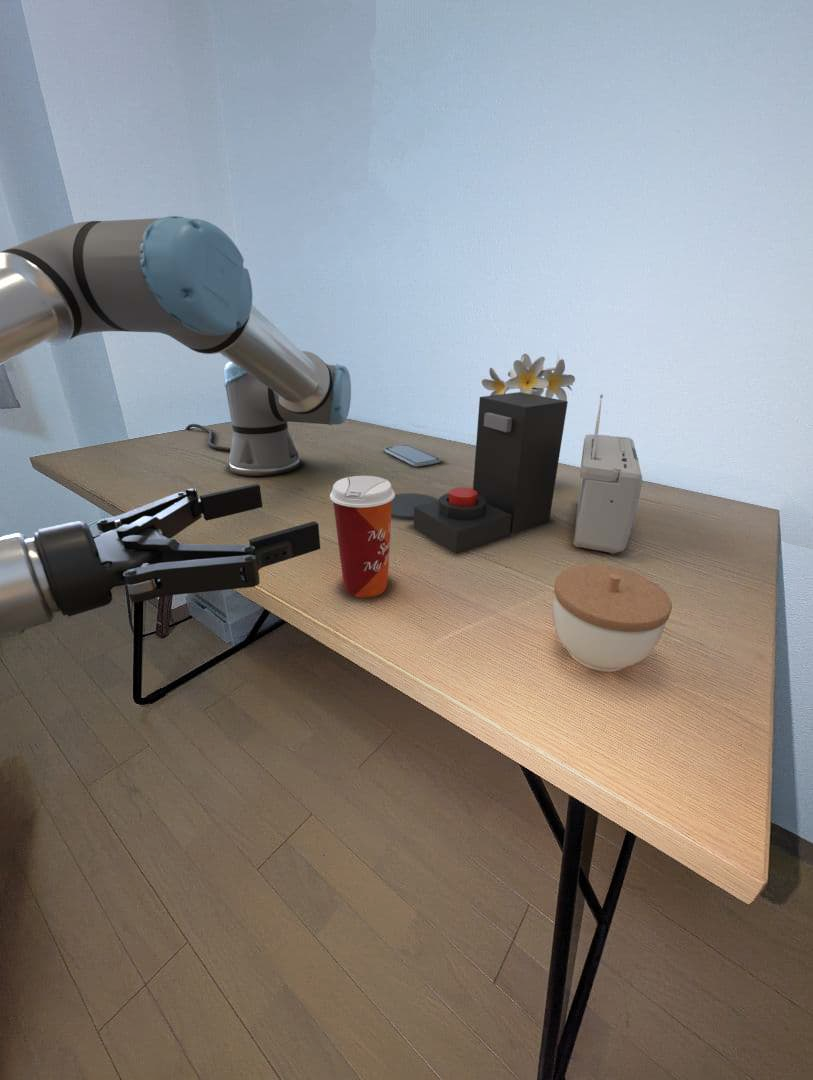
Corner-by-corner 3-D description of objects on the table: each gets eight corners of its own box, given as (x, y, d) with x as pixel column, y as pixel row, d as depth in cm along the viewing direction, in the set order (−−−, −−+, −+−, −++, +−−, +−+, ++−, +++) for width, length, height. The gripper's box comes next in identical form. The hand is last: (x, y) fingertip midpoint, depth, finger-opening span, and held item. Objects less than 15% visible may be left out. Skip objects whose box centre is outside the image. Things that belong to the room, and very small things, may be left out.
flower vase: (465, 484, 97) (474, 354, 85) (524, 468, 107) (538, 349, 96) (514, 503, 87) (531, 360, 76) (573, 483, 98) (596, 354, 86)
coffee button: (442, 501, 75) (443, 490, 74) (464, 495, 77) (464, 485, 76) (460, 510, 71) (461, 499, 71) (482, 504, 74) (483, 493, 73)
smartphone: (416, 464, 106) (382, 448, 117) (415, 468, 106) (383, 451, 118) (442, 459, 110) (407, 444, 121) (442, 462, 110) (407, 447, 121)
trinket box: (539, 672, 47) (553, 593, 43) (550, 613, 56) (562, 543, 52) (657, 701, 44) (684, 618, 40) (648, 634, 53) (670, 561, 49)
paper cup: (387, 605, 57) (386, 498, 51) (327, 598, 59) (319, 493, 52) (401, 574, 64) (401, 476, 58) (347, 568, 66) (341, 471, 59)
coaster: (369, 503, 87) (369, 500, 87) (418, 492, 92) (418, 489, 92) (401, 524, 79) (402, 521, 78) (453, 510, 84) (453, 507, 84)
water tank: (466, 514, 83) (474, 397, 74) (507, 502, 88) (519, 391, 79) (507, 534, 75) (521, 407, 67) (549, 521, 80) (568, 401, 72)
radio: (625, 559, 68) (659, 421, 59) (566, 550, 71) (590, 416, 62) (620, 508, 86) (645, 395, 77) (573, 502, 88) (592, 392, 79)
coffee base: (413, 527, 78) (414, 496, 75) (464, 513, 83) (466, 483, 81) (455, 553, 70) (457, 519, 67) (509, 536, 75) (513, 504, 73)
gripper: (45, 558, 49) (245, 510, 61) (80, 700, 31) (351, 593, 43) (20, 490, 45) (236, 453, 57) (42, 605, 28) (347, 518, 40)
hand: (286, 513), depth 50 cm, fingers open, 13 cm apart
